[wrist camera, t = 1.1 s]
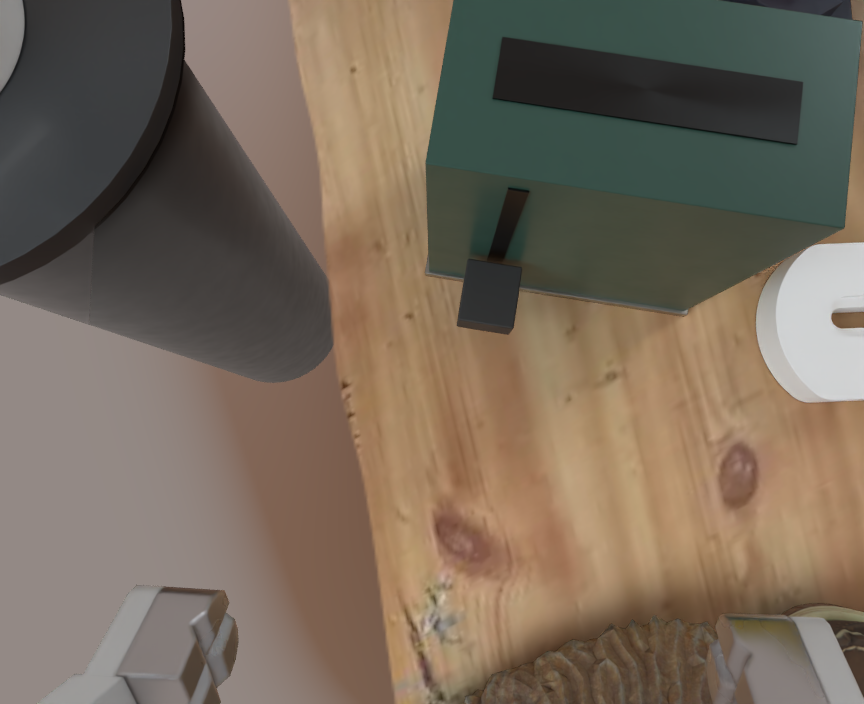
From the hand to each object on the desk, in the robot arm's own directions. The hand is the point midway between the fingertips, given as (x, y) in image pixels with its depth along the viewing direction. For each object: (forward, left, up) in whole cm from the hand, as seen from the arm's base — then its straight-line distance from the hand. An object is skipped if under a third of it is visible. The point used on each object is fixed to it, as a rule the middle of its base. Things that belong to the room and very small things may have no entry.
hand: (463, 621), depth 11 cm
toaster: (+7, +15, -27) cm, 32 cm away
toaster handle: (+2, +10, -23) cm, 26 cm away
